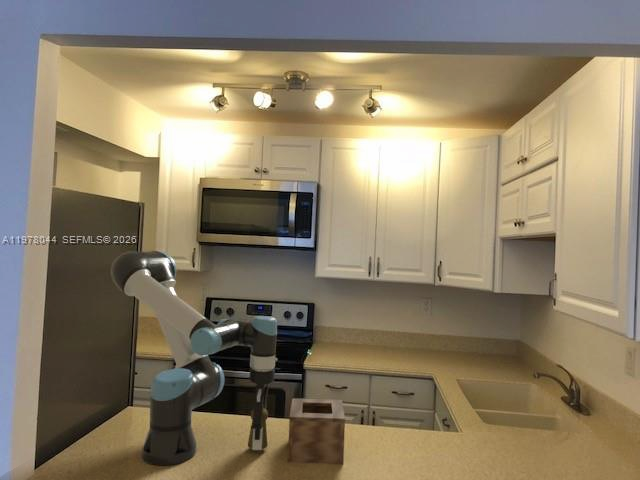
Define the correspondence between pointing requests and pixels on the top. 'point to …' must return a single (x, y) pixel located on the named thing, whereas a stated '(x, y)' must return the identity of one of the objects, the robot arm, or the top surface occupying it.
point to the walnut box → (316, 431)
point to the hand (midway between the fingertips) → (258, 444)
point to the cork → (264, 433)
